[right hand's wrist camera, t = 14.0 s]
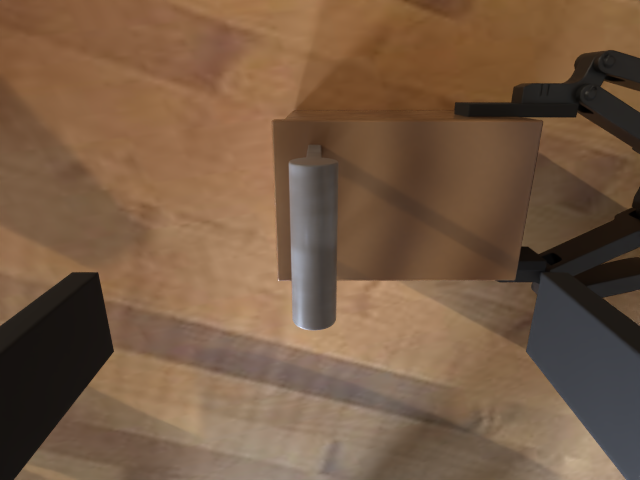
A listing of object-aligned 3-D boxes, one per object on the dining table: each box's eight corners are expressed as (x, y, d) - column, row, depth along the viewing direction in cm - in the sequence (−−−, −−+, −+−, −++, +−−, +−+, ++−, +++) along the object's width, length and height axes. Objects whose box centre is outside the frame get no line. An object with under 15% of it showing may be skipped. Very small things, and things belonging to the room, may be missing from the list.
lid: (278, 274, 26) (262, 352, 19) (273, 119, 23) (250, 135, 15) (509, 274, 26) (588, 351, 19) (535, 119, 23) (644, 135, 15)
